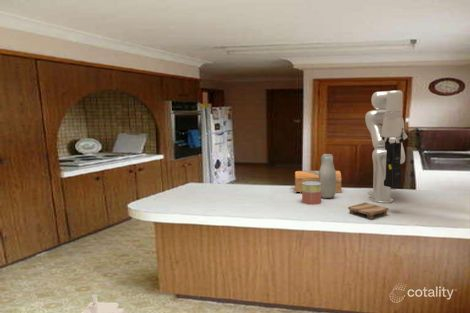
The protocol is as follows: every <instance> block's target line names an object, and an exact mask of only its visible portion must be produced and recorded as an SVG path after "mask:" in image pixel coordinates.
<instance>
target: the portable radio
mask: <svg viewBox="0 0 470 313" xmlns="http://www.w3.org/2000/svg"><path fill="white" fill-rule="evenodd" d="M385 149H386V150H387V153H386V176H385V180H384V186H387V187H391V189H393V188H397V187H401V185H402V182H401V181H402V178H401V177H402V175H401V174H402V173H401V172H402V170H401V168H402V167H401V164H400V159H401V150H400V151H396V139H395V143H389V144H385Z"/></svg>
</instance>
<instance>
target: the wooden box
mask: <svg viewBox="0 0 470 313" xmlns="http://www.w3.org/2000/svg"><path fill="white" fill-rule="evenodd" d="M335 172H336V192H335V194H341V193H342V173H341V171H340V170H335ZM306 181H316V182H319V170H296V171H295V172H294V188H295V191H294V192H295V193H296V192H302V182H306Z"/></svg>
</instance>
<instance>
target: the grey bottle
mask: <svg viewBox="0 0 470 313" xmlns="http://www.w3.org/2000/svg"><path fill="white" fill-rule="evenodd" d="M318 171H319V182H320V183H321V198H324V199H333V198H334V197H335V195H336V193H335V192H336V172H335V171H336V169H335V165H334V156H333V154H332V153H331V154H330V153H324V154H322V155H321V157H320V167H319V170H318Z"/></svg>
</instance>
